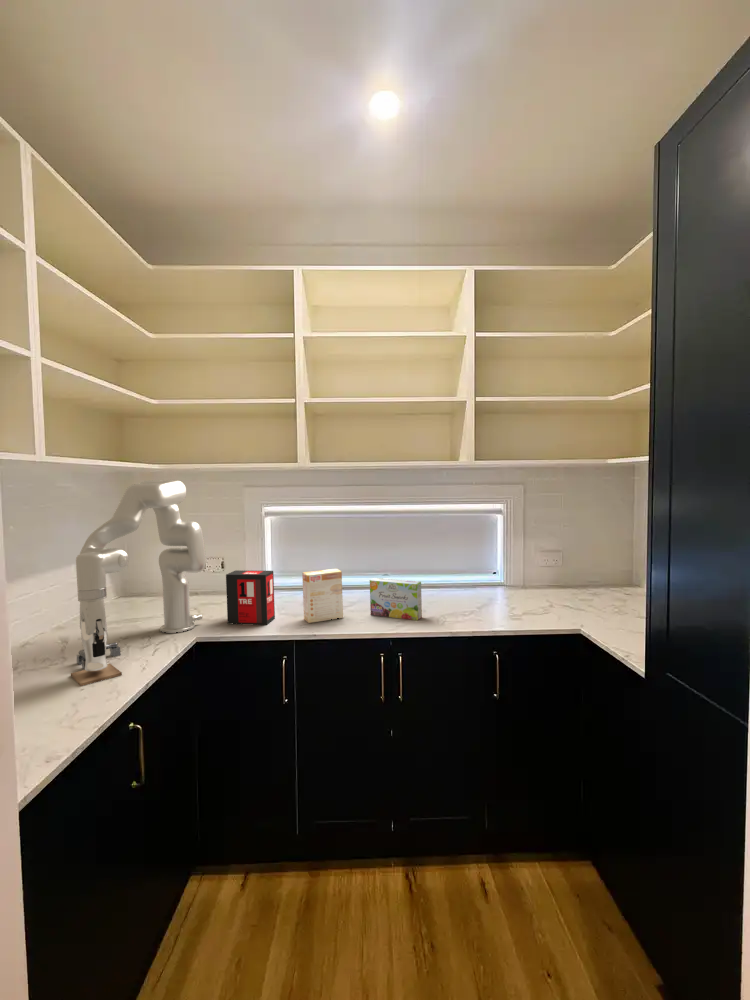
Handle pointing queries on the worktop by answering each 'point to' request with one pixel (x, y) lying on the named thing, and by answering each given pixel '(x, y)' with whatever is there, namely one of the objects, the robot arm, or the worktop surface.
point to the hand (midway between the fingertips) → (95, 652)
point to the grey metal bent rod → (112, 646)
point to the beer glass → (87, 641)
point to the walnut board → (95, 675)
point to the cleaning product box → (250, 597)
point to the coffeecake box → (322, 595)
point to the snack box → (396, 598)
